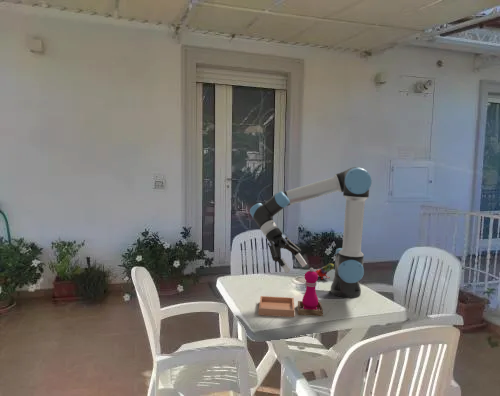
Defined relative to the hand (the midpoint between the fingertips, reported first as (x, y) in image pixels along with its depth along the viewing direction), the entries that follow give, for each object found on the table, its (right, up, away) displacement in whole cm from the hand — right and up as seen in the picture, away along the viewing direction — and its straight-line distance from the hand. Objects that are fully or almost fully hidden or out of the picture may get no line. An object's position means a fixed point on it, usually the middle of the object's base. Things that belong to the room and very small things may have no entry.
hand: (297, 268), depth 181 cm
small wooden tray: (+5, -19, -3) cm, 20 cm away
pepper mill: (+5, -19, -3) cm, 20 cm away
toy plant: (+21, -14, +48) cm, 54 cm away
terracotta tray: (-9, -18, -2) cm, 21 cm away
